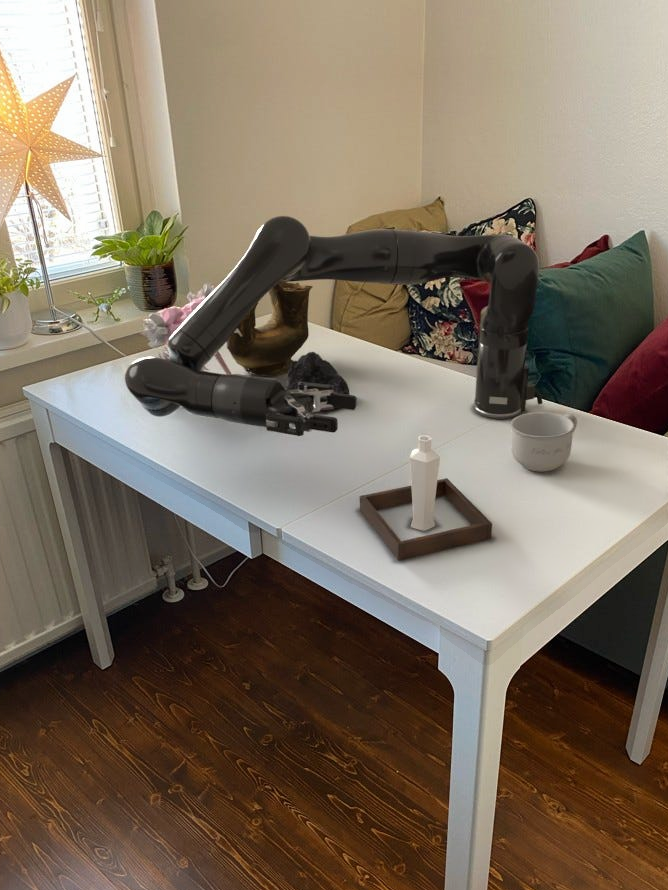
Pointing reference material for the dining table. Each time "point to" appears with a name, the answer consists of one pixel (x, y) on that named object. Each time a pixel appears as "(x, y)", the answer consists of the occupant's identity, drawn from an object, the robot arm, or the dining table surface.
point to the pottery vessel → (273, 332)
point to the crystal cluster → (315, 374)
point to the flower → (177, 323)
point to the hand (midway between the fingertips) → (346, 413)
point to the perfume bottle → (424, 483)
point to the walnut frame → (427, 543)
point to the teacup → (542, 439)
